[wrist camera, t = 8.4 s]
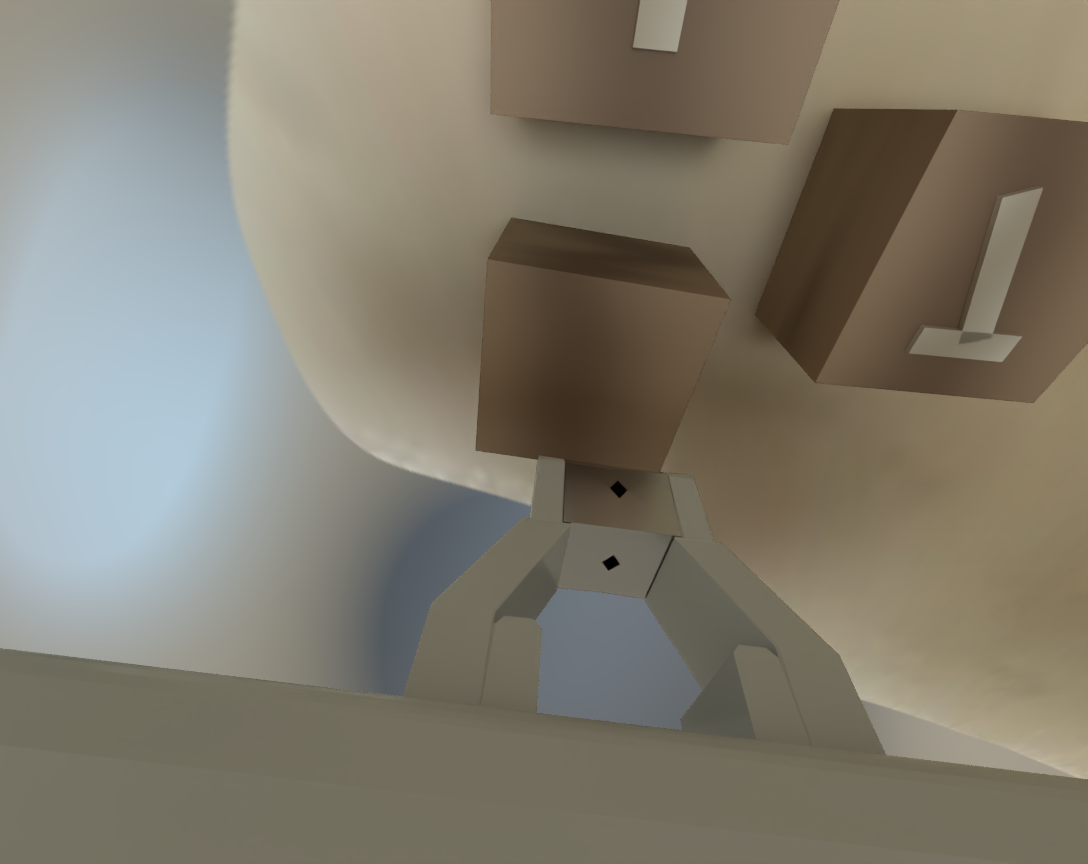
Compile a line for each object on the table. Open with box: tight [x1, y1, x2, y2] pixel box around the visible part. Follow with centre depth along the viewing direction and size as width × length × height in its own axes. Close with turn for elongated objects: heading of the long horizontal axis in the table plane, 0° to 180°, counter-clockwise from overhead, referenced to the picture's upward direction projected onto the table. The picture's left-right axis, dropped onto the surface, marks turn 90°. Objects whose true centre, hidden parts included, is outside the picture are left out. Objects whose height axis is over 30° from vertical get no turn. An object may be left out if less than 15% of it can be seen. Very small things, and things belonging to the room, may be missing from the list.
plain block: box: [476, 218, 731, 472], centre depth 14 cm, size 6×6×5 cm
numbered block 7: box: [755, 109, 1088, 403], centre depth 12 cm, size 6×6×5 cm
